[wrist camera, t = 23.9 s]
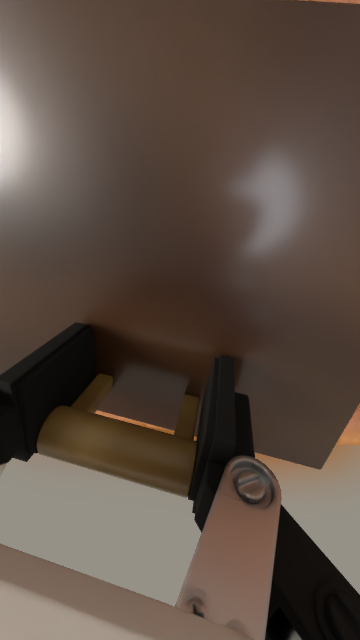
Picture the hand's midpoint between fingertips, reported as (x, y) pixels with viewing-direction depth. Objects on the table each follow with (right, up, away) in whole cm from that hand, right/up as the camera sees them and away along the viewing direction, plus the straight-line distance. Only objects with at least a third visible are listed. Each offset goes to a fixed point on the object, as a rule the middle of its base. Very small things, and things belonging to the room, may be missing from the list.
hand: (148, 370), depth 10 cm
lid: (+1, +4, -1) cm, 4 cm away
